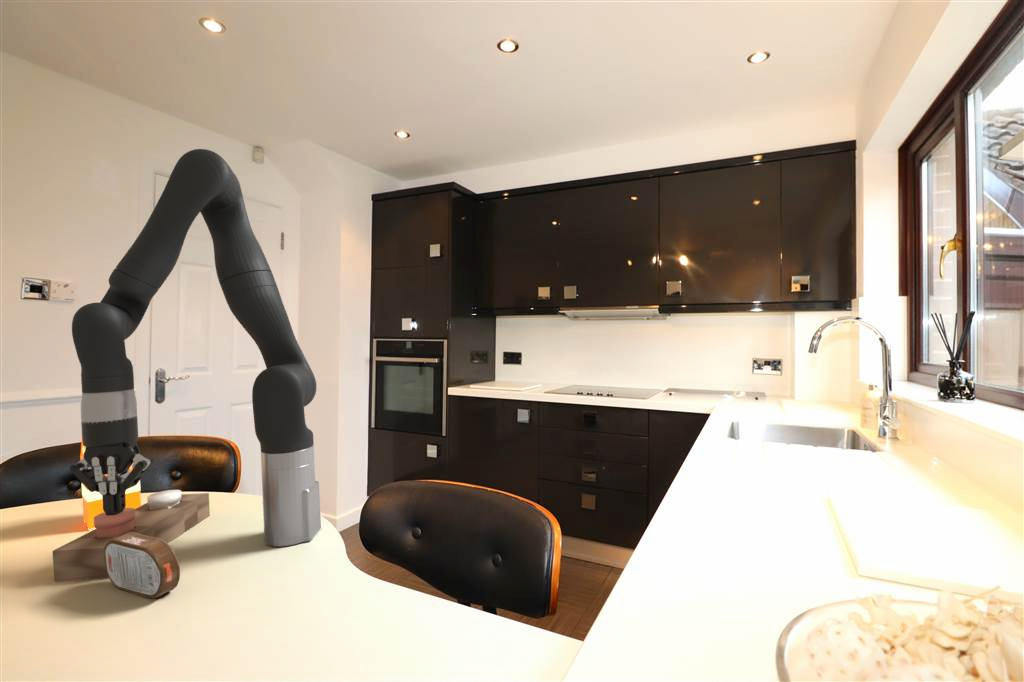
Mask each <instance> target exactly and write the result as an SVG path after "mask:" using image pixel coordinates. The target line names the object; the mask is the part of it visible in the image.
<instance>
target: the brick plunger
mask: <svg viewBox="0 0 1024 682" xmlns="http://www.w3.org/2000/svg"><path fill="white" fill-rule="evenodd" d="M135 518H136V517H135V508H125V509H124V510H123V511H122V512H120V513H118V514H116V515H106V512H103V513H101V514H98V515H96V516H95V517H94V527H95V528H96V531H97V538H105V537H119V536H121V535H123V534H125V533H127V532H128V531H130V530H132V529H134V519H135Z"/></svg>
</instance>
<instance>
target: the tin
mask: <svg viewBox="0 0 1024 682" xmlns="http://www.w3.org/2000/svg"><path fill="white" fill-rule="evenodd" d="M104 559H105V565H106V573H107V575H108V577H109V578H108V580H110V581H111V583H112V584H113V586H115V587H116V588H118V589H119V590H122V591H125V592H128V593H131V594H135V595H137V596H142V597H143V598H147V599H156V598H158V597H159V598H160V597H161V596H163V595H165V594H166V593H168V592H171V591H173V590H174V589H176V588H177V587H178V585H179V582H180V579H181V569H180V564H179V563H180V562H179V559H178V556H177V555H176V553H175V551H174V549H173V548H172V547H171V546H170V543H166V542H165V541H164V540H162V539H159V538H154V537H150V536H145V535H141V534H137V533H134V532H127V533H125V534H124V535H121V536H119V537H117V538H114V539H112V540H110V541H109V542H108V543H107V544H106V545H105V547H104Z"/></svg>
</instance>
